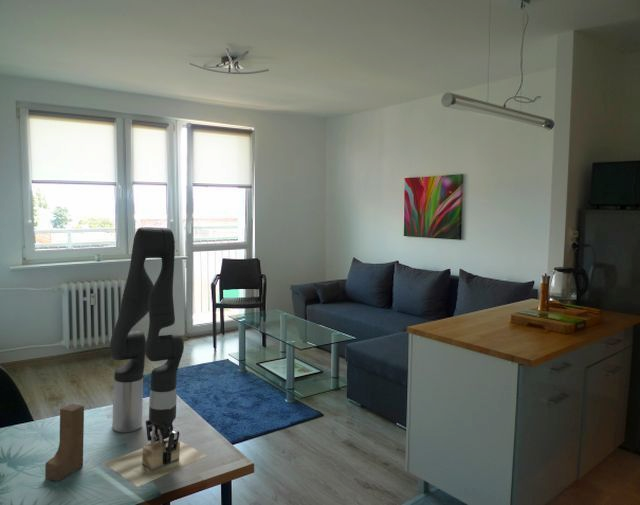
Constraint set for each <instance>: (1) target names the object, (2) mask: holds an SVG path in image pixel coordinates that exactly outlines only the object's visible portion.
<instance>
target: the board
mask: <svg viewBox="0 0 640 505" xmlns="http://www.w3.org/2000/svg"><path fill="white" fill-rule="evenodd" d="M178 441H179V442H180V455H179V460H178V461H175V462H173V463H171V464H168V465H166V466H164V467H161V468H159V469H156V470H154V471H151V470H149V469H148V468H146V467H145V466H143V465H142V457H143V447H142V448H139V449H137V450H134V451H132V452H131V451H130V452H129V453H126V454H124V455H121V456H119V457H116V458H113V459H111V460H110V459H109V460H107V461H105V462H103V465H105V466H107V467H108V468H109V469H111V470H112V471H114V472H115V473H117V474H118V475H119V476H121V477H123V479H125V480H126V481H128V482H129V483H131V484H132V485H133V486H135V487H137V488H139V487H141V486H143V485H144V486H145V484H148V483H149V482H152V481H154V480H157V479H159V478H161V477H163V476H165V475H167V474H170V473H173V472H174V471H177V470H179V469H181V468H184V467H185V466H188V465H190V464H192V463H194V462H196V461H199V460H201V459H203V458H206V457H207V456H208V455H206V454H205V453H203V452H201V451H199V450H198V449H195V448H194V447H192V446H189V445H188V444H186V443H184V442H182V441H180V440H179V439H178Z"/></svg>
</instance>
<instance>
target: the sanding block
mask: <svg viewBox="0 0 640 505" xmlns="http://www.w3.org/2000/svg"><path fill="white" fill-rule="evenodd" d="M168 439H169V438H166V439H164V441H165V440H168ZM179 441H180V440H179ZM179 441H178V445H177V449H176V450H174V451H172V452H171V462H170V463H168V464H171V463H173V462H175V461H178V460H179V455H180V442H179ZM166 447H168V443H166ZM142 448H143V457H142V465H143V466H145V467H146V468H148V469H149V470H151V471H154V470H156V469H159V468H161V467H164V466H166V465H168V464H166V465H164V464H163V452H164V451H163V446H162V444H161V443H160V440H159V441H156V442H154V443H151V442H150V443H149V444H146V445H143V446H142Z"/></svg>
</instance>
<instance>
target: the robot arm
mask: <svg viewBox="0 0 640 505" xmlns="http://www.w3.org/2000/svg"><path fill="white" fill-rule="evenodd" d="M175 240H176V239H175V235H174V233H173V231H172V230H171V228H167V227H156V226H153V227H151V226H149V227H148V226H142V227H138V229H137V230H136V232H135V233H134V237H133V242H132V249H131V257H130V263H129V270H128V274H127V278H126V282H125V286H124V289H123V293H122V297H121V302H120V308H119V313H118V317H117V320H116V324H115V326H114V329H113V331H112V335H111V338H110V341H109V355H110V357H111V359H112V360H115V361H127V360H129V361H128V362H127V363H125V364H124V365H122V366H120V367H118V368H117V369H115V371H114V374H113V377H114V380H113V399H112V427H113V428H112V430H113V431H115V430H116V431H115V432H117V431H118V432H117V433H131V432H135V431H137V430H140V429H141V428H142V426H143V407H144V406H143V402H144V400H143V398H144V397H143V396H144V393H143V392H144V372H145V360H146V358H147V359H148V360H149V361H151V362H160V361H161V362H162V361H166V362H165V363H163V364H162V365H160V366H157V367H155V368H153V369H152V370H151V373H150V392H149V401H148V402H149V403H148V419H146V420H145V427H146V429H145V430H146V438H147V441H148V442H150V444H151V443H154V442H156V441H159V440H160V443H161V444H162V446H163V451H164V452H163V464H164V465H166V464H168V463H170V462H171V452H172V451H174V450H176V449H177V445H178V440H179V439H180V431H178V430H177V431H175V430H174V426H173V422H174V420H175V419H176V417H177V398H178V397H177V396H178V395H177V375H178V370H179V366H180V363H181V360H182V357H183V354H184V349H185V344H184V340H183V338H182V336H180V335H179V334H175V333H174V334H167V335H166V334H165V335H160V331H161V330H162V329H165V328H168V327H171V326H173V325H175V321H176V320H175V319H176V316H175V314H176V313H175V306H174V303H175V302H174V274H175V253H176V245H175V244H176V242H175ZM146 259H161V270H160V272H159V275H158V277H157V279H156V281H155V283H153V281H152V279H151V278H150V276H149V275H148V272H147V270H146V268H145V267H146V266H145V262H146ZM147 314H148V316H149V318H148V319H149V322H148V323H149V324H148V330H147V331H148V332H147V337H146V336H145V333H144V332H143V331H142V330H133V331H131V330H132V329H133V328H134V327H135V326H136V325H137V324H138V323H139V322H140V321H141V320H142V319H143V318H145V316H146V315H147ZM166 438H169V439H168V440H165V441H164V439H166ZM166 443H168V447H166Z"/></svg>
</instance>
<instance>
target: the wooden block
mask: <svg viewBox="0 0 640 505" xmlns="http://www.w3.org/2000/svg"><path fill="white" fill-rule="evenodd" d="M84 427H85V406H84V405H80V404H76V403H70V404H68V405H66V406H63V407H61V408H60V409H59V443H58V444H59V445H58V448H57V451H56V452H55V454H54V456H53V457H52V458H50V459H49V460H47V461H46V462H45V474H44V475H45V479H47V480H51V481H54V482H59V481H61V480H62V479H65V477H67V476H69V475H70V474H72V473H74V472H76V471H77V470H79V469H81V468H82V467H83V466H84V439H85V438H84V437H85V436H84V435H85V434H84V433H85V430H84V429H85V428H84Z"/></svg>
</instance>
